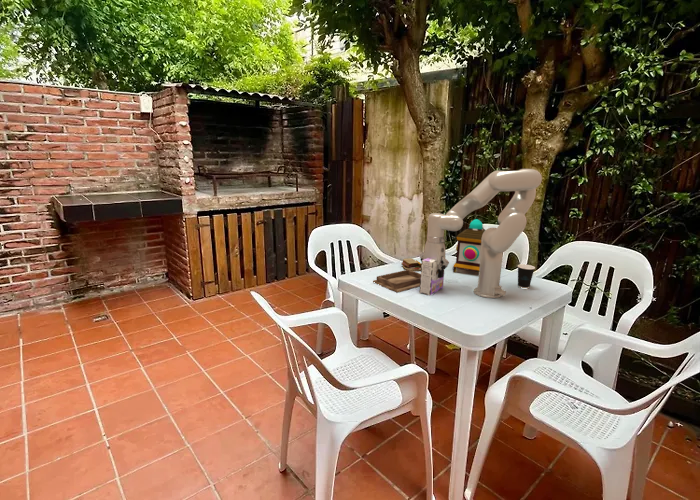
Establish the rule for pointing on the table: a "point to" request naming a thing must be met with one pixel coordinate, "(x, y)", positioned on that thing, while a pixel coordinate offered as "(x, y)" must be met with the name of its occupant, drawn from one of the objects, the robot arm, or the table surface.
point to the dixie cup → (525, 275)
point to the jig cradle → (399, 280)
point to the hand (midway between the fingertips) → (432, 274)
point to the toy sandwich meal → (411, 264)
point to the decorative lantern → (469, 247)
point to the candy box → (430, 277)
